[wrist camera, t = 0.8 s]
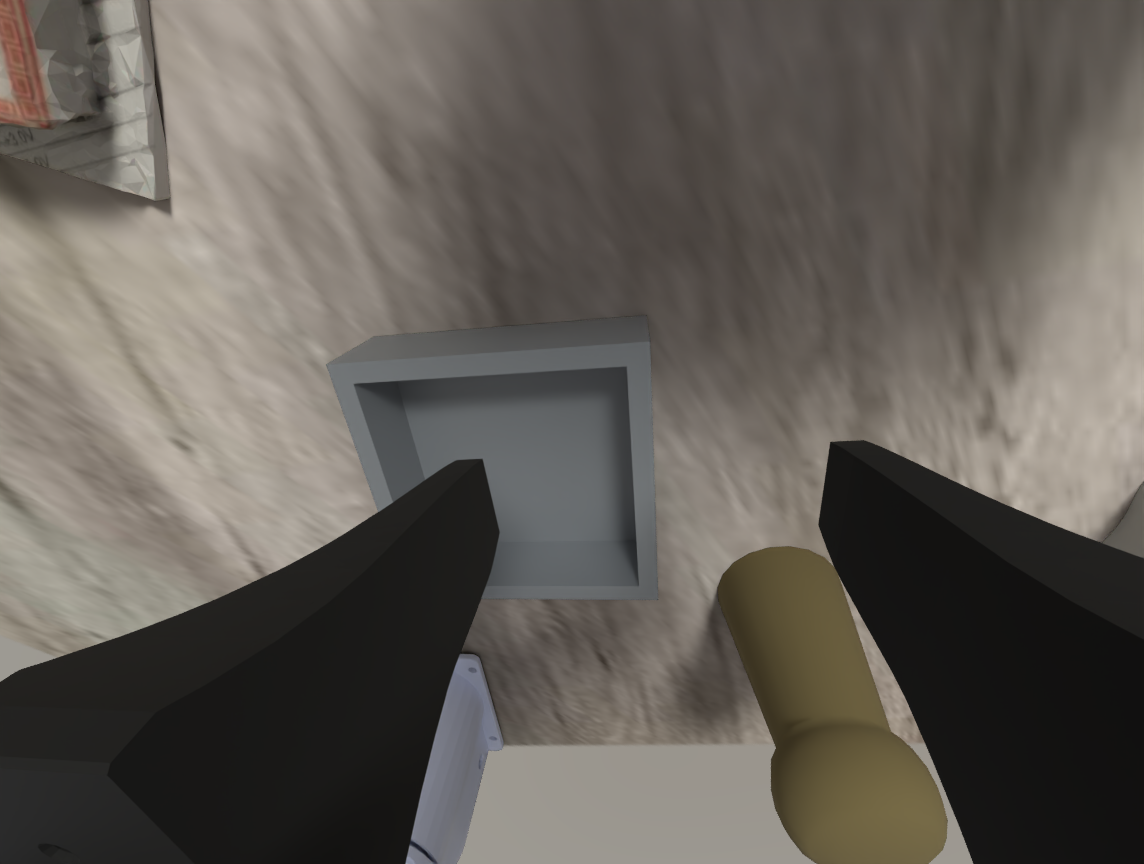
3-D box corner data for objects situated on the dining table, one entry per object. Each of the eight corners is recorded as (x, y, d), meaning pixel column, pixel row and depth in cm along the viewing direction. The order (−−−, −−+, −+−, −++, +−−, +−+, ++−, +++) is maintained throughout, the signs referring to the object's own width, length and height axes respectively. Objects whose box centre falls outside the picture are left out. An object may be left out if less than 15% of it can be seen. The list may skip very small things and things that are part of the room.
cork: (698, 613, 26) (740, 872, 16) (750, 531, 23) (839, 786, 13) (802, 645, 26) (905, 919, 16) (865, 568, 23) (1037, 844, 13)
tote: (654, 544, 24) (658, 599, 21) (436, 547, 25) (409, 598, 22) (646, 315, 19) (649, 341, 15) (373, 336, 20) (325, 364, 17)
